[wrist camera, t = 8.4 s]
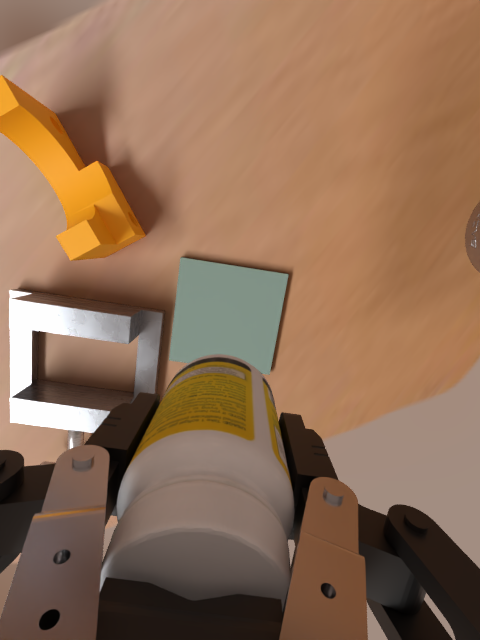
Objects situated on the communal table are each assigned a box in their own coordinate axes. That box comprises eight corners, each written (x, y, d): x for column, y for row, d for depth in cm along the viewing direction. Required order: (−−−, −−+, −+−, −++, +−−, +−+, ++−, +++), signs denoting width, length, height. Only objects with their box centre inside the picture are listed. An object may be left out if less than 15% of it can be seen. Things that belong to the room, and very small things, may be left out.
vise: (165, 310, 31) (154, 320, 27) (148, 470, 35) (136, 498, 31) (17, 288, 30) (-16, 295, 26) (17, 453, 34) (-11, 480, 30)
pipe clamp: (146, 235, 29) (121, 233, 23) (105, 257, 30) (70, 260, 24) (74, 104, 27) (24, 61, 21) (31, 129, 27) (-31, 95, 21)
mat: (287, 273, 30) (288, 274, 30) (269, 372, 32) (269, 374, 32) (181, 257, 30) (180, 257, 29) (170, 358, 32) (168, 360, 31)
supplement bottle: (145, 403, 14) (18, 611, 6) (217, 329, 14) (179, 457, 5) (223, 467, 15) (201, 729, 7) (295, 401, 14) (366, 610, 6)
